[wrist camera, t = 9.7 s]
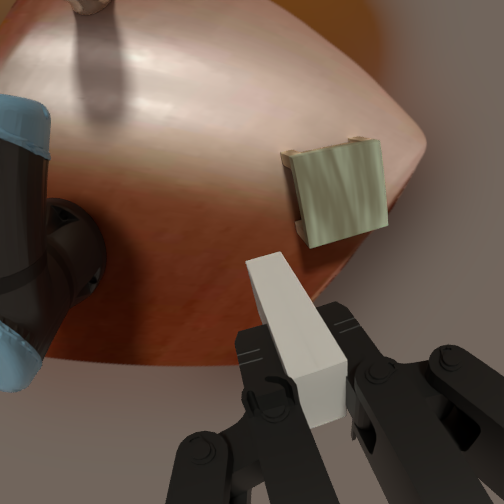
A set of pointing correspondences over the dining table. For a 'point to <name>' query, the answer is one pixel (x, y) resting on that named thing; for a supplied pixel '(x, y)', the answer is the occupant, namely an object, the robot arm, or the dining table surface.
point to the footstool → (338, 190)
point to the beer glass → (88, 6)
